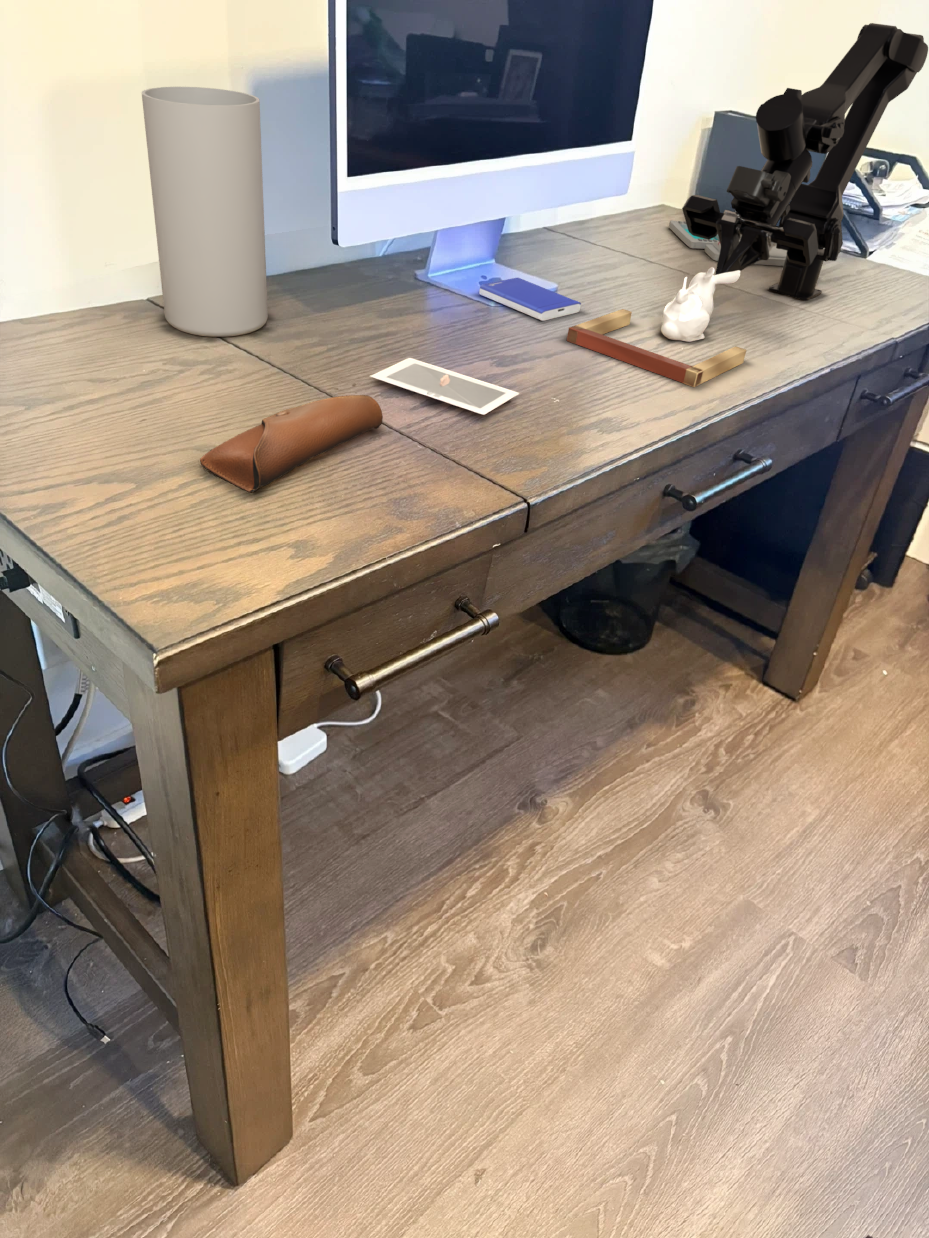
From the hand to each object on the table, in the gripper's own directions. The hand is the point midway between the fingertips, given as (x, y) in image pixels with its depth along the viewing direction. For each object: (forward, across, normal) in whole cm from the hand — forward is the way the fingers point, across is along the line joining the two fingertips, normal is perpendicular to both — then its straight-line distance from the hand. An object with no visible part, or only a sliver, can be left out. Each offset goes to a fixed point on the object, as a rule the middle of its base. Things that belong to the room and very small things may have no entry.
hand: (717, 281), depth 126 cm
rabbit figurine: (+8, 0, +2) cm, 8 cm away
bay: (+15, 0, -5) cm, 15 cm away
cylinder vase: (+42, -41, -32) cm, 67 cm away
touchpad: (+38, -8, -28) cm, 48 cm away
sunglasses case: (+54, -8, -43) cm, 69 cm away
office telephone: (-29, -20, +38) cm, 52 cm away
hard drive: (+14, -22, -4) cm, 26 cm away
